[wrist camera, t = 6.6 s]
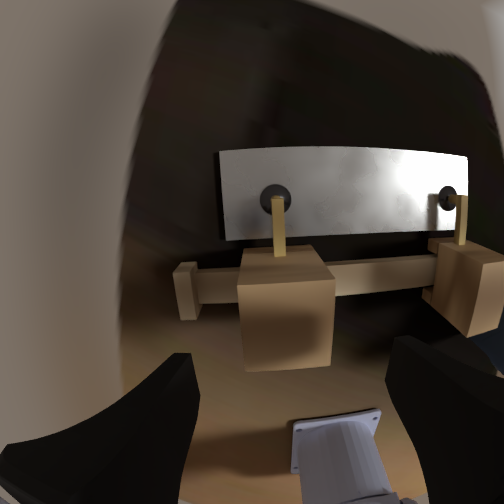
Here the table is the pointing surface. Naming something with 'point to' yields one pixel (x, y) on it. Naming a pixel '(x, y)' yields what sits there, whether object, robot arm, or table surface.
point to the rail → (345, 272)
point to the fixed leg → (466, 279)
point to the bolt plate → (339, 190)
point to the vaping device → (493, 344)
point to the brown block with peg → (285, 303)
